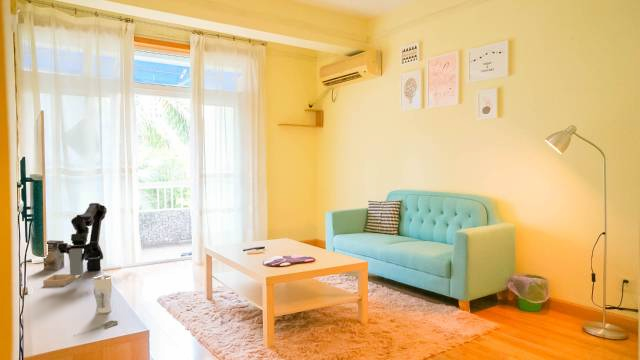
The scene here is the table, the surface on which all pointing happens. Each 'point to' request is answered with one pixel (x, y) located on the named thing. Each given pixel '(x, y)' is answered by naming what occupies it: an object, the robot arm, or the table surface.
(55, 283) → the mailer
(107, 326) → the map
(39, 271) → the table surface
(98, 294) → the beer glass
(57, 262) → the coffee box
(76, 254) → the slate block
